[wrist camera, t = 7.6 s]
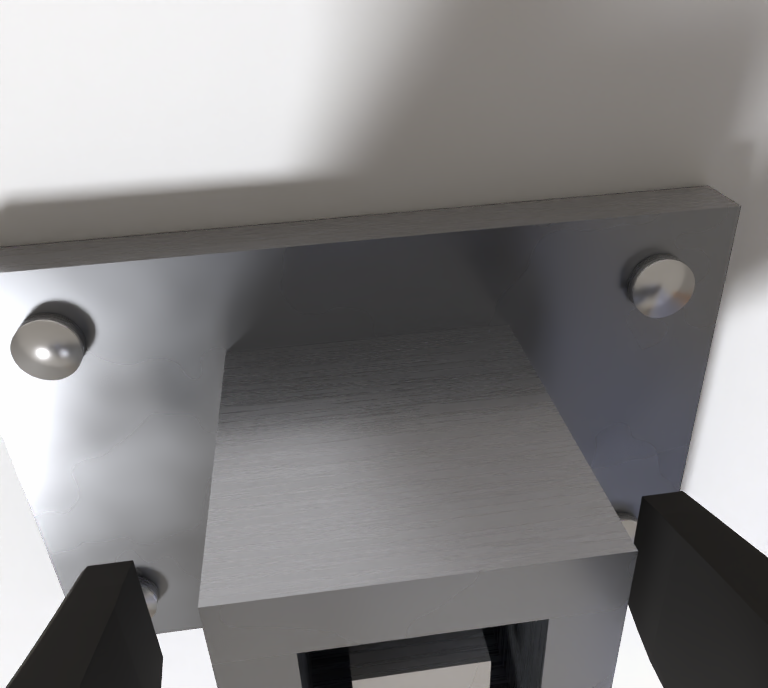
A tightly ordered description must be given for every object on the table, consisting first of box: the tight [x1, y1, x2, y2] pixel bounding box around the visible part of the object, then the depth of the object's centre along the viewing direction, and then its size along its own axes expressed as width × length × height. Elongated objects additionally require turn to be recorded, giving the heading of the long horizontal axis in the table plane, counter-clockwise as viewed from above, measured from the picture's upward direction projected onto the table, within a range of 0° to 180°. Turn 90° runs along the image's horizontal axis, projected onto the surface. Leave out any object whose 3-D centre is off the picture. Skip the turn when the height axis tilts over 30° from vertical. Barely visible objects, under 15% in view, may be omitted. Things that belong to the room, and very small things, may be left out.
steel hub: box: [198, 325, 638, 688], centre depth 11 cm, size 5×5×5 cm
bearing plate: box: [0, 186, 741, 688], centre depth 11 cm, size 12×8×6 cm, turn 92°
